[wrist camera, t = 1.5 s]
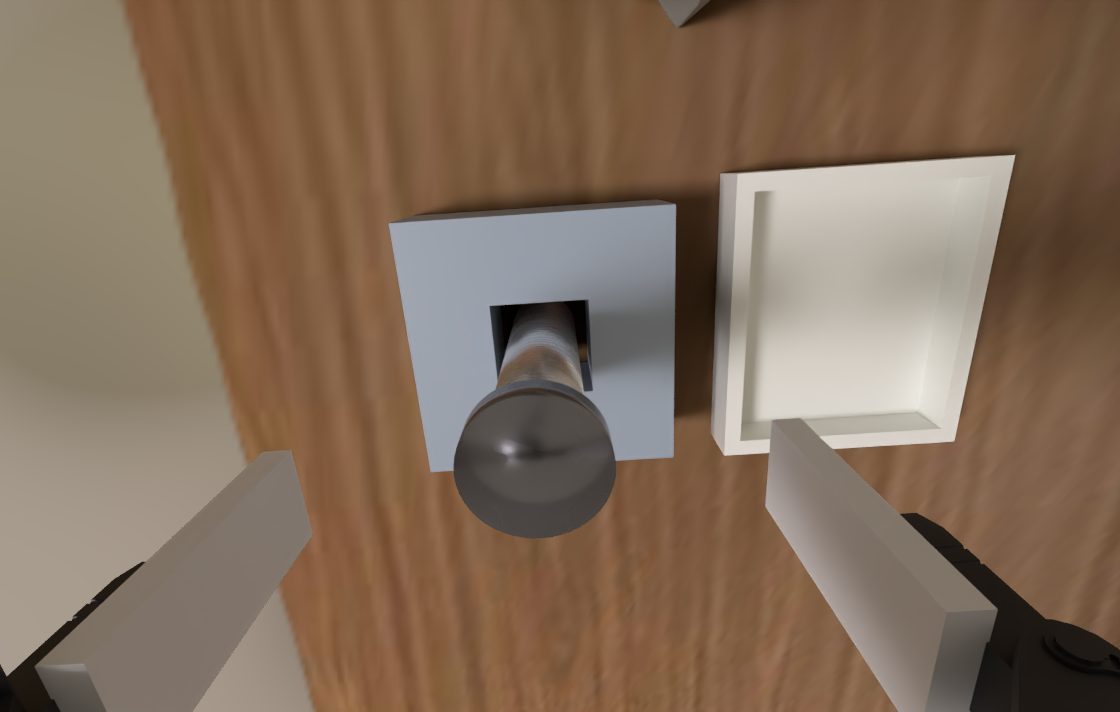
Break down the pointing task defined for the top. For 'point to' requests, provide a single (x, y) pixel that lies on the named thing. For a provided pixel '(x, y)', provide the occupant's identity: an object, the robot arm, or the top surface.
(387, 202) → the top surface
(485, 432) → the pin
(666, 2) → the digital clock
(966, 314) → the tray
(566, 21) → the top surface
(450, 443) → the socket block
